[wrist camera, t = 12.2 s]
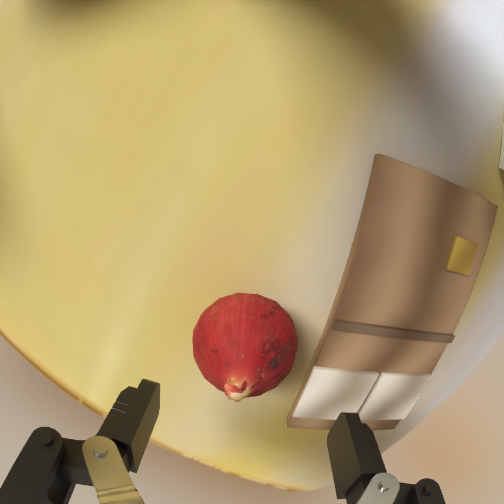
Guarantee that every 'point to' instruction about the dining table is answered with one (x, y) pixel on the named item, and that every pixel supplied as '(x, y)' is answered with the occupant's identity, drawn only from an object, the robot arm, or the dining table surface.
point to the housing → (502, 153)
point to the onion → (244, 345)
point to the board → (395, 298)
